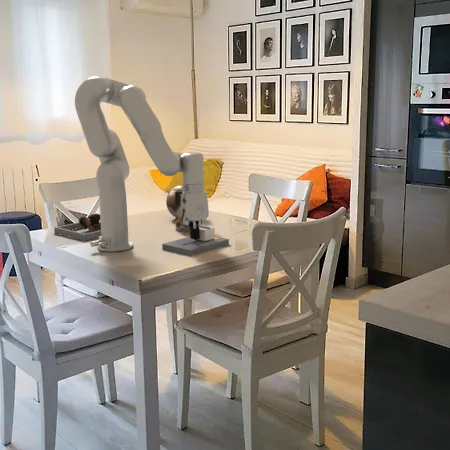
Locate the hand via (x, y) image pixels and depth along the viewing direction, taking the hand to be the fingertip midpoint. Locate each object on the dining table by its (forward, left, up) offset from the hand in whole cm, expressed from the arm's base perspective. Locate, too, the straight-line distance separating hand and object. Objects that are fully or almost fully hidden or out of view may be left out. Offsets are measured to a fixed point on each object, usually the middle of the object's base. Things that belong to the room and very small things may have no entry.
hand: (194, 238), depth 212 cm
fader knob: (+5, 0, -1) cm, 5 cm away
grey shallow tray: (-10, +49, -3) cm, 50 cm away
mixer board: (+1, 0, -3) cm, 3 cm away
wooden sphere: (+33, +38, -3) cm, 50 cm away
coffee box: (+19, +22, -3) cm, 29 cm away
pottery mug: (-8, +50, -4) cm, 50 cm away
